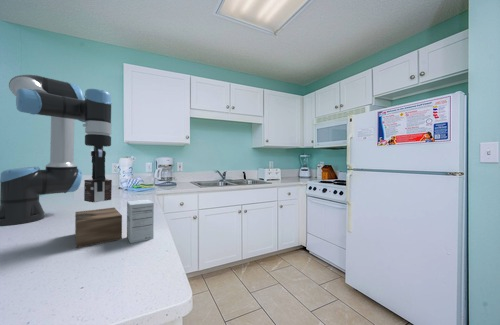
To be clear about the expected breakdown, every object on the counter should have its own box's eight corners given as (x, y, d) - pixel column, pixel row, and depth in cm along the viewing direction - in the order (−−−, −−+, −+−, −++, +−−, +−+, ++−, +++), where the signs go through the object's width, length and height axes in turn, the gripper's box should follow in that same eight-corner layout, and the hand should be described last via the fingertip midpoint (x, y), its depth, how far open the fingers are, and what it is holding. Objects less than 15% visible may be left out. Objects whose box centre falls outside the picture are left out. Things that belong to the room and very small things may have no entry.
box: (83, 201, 73) (83, 179, 73) (102, 198, 78) (102, 178, 78) (93, 202, 70) (93, 180, 70) (112, 199, 75) (112, 179, 75)
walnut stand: (75, 233, 76) (75, 211, 76) (114, 227, 84) (114, 207, 84) (76, 247, 64) (76, 221, 64) (121, 238, 72) (121, 215, 72)
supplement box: (126, 237, 74) (126, 201, 74) (149, 232, 78) (149, 199, 78) (129, 243, 68) (129, 204, 68) (154, 238, 72) (154, 202, 72)
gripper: (83, 136, 79) (83, 197, 79) (86, 130, 64) (86, 205, 64) (107, 138, 84) (107, 195, 84) (115, 132, 69) (115, 202, 69)
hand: (98, 199), depth 74 cm, fingers closed on box, 8 cm apart
